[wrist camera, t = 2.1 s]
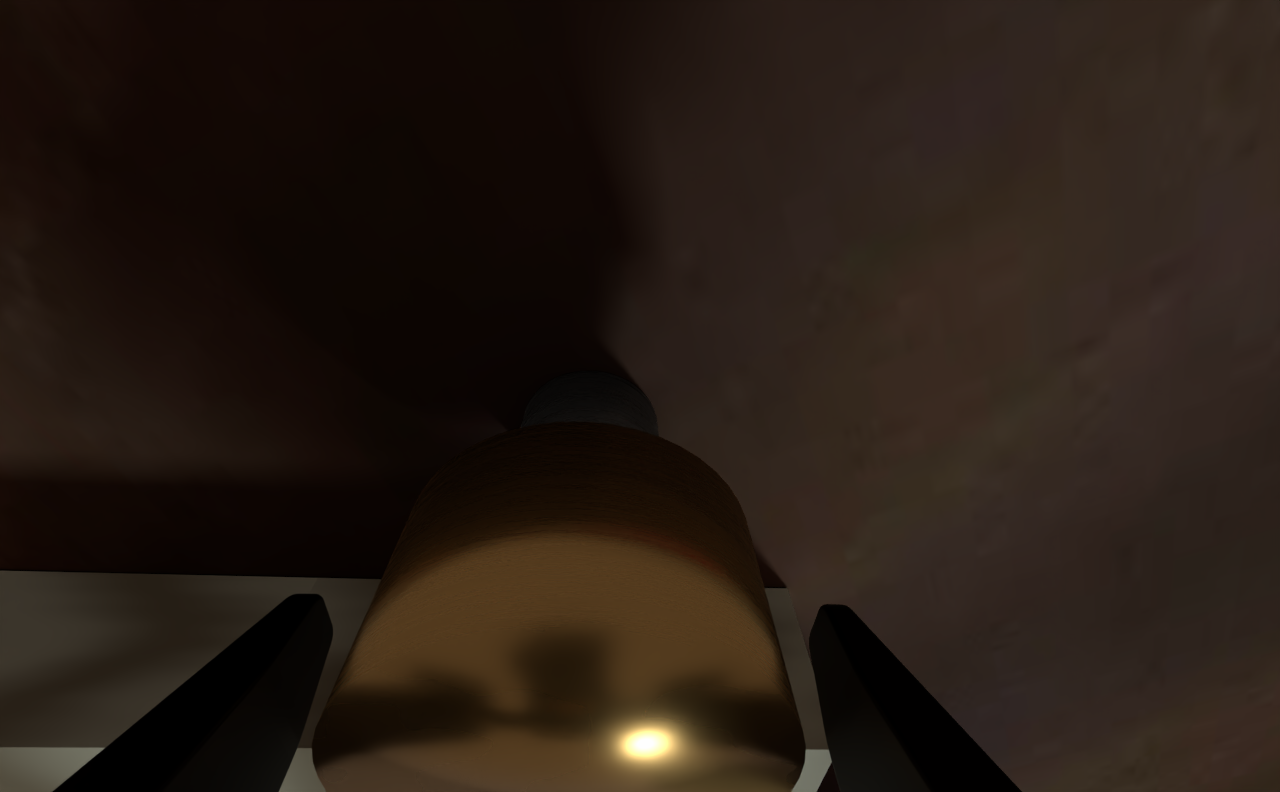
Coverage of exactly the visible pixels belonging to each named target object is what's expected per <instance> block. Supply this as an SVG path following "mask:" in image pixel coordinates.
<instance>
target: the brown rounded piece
mask: <svg viewBox="0 0 1280 792" xmlns="http://www.w3.org/2000/svg"><path fill="white" fill-rule="evenodd" d="M805 754H806V744H805V739H804V733H803V729H802V725H801V721H800V718H799V714H798V710H797V707H796V703H795V699H794V695H793V692H792V688H791V684H790V681H789V677H788V673H787V669H786V666H785V662H784V658H783V655H782V651H781V647H780V643H779V640H778V636H777V632H776V629H775V625H774V621H773V617H772V614H771V610H770V606H769V603H768V599H767V595H766V591H765V588H764V584H763V580H762V577H761V573H760V569H759V566H758V562H757V558H756V554H755V551H754V547H753V543H752V540H751V536H750V532H749V528H748V525H747V521H746V517H745V515H744V513H743V510H742V508H741V505H740V503H739V501H738V499H737V498H736V496H735V495H734V493H733V492H732V490H731V488H730V487H729V486H728V485H727V483H726V482H725V481H724V480H723V479H722V478H721V477H720V476H719V475H718V473H717V472H716V471H714V470H713V469H712V468H711V467H710V466H708V465H707V464H706V463H705V462H704V461H702V460H701V459H700V458H698V457H697V456H695V455H694V454H692V453H690V452H689V451H687V450H686V449H684V448H682V447H680V446H678V445H676V444H674V443H672V442H670V441H668V440H665V439H663V438H661V437H659V434H658V424H657V417H656V414H655V411H654V408H653V406H652V404H651V403H650V401H649V400H648V398H647V397H646V396H645V394H644V393H643V392H642V391H641V390H640V389H638V388H637V387H636V386H635V385H633V384H632V383H630V382H629V381H627V380H625V379H623V378H621V377H618V376H616V375H613V374H609V373H605V372H598V371H579V372H573V373H569V374H565V375H562V376H559V377H557V378H555V379H553V380H551V381H549V382H548V383H546V384H545V385H543V386H542V387H541V388H540V389H539V390H538V391H537V392H536V393H535V394H534V395H533V397H532V398H531V399H530V401H529V403H528V405H527V407H526V410H525V413H524V416H523V420H522V424H521V428H518V429H514V430H510V431H507V432H504V433H501V434H498V435H496V436H493V437H490V438H487V439H485V440H483V441H481V442H479V443H477V444H475V445H473V446H471V447H469V448H467V449H465V450H464V451H462V452H461V453H460V454H458V455H457V456H455V457H454V458H452V459H451V460H450V461H448V462H447V463H446V464H445V465H444V466H443V467H442V468H441V469H440V470H438V471H437V472H436V473H435V474H434V475H433V476H432V478H431V479H430V480H429V481H428V483H427V484H426V485H425V487H424V488H423V489H422V491H421V493H420V495H419V497H418V498H417V500H416V502H415V504H414V506H413V509H412V511H411V513H410V515H409V518H408V520H407V522H406V524H405V527H404V529H403V531H402V533H401V536H400V538H399V540H398V542H397V545H396V547H395V549H394V552H393V554H392V556H391V558H390V561H389V563H388V565H387V567H386V570H385V572H384V574H383V576H382V579H381V581H380V583H379V585H378V588H377V590H376V592H375V594H374V597H373V599H372V601H371V603H370V606H369V608H368V610H367V613H366V615H365V617H364V619H363V622H362V624H361V626H360V628H359V631H358V633H357V635H356V637H355V640H354V642H353V644H352V646H351V649H350V651H349V653H348V655H347V658H346V660H345V662H344V664H343V667H342V669H341V671H340V674H339V676H338V678H337V680H336V683H335V685H334V687H333V689H332V692H331V694H330V696H329V698H328V701H327V703H326V705H325V707H324V710H323V712H322V714H321V716H320V719H319V721H318V723H317V725H316V728H315V732H314V737H313V741H312V759H313V764H314V767H315V770H316V773H317V776H318V779H319V780H320V782H321V783H322V785H323V787H324V788H325V790H326V792H791V791H792V790H793V788H794V786H795V785H796V783H797V781H798V780H799V778H800V775H801V772H802V769H803V766H804V763H805Z"/></svg>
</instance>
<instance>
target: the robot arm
mask: <svg viewBox="0 0 1280 792" xmlns="http://www.w3.org/2000/svg"><path fill="white" fill-rule="evenodd" d="M332 638H333V625H332V622H331V619H330V616H329V613H328V610H327V608H326V605H325V602H324V599H323V597H322V596H320V595H319V594H293V595H291V596H289V597H287V598H286V599H285V600H283V601H282V602H281V603H280V604H279V605H277V606H276V607H275V608H274V609H273V610H271V611H270V612H269V613H268V614H266V615H265V616H264V617H263V618H262V619H260V620H259V621H258V622H257V623H256V624H254V625H253V626H252V627H251V628H250V629H248V630H247V631H246V632H245V633H243V634H242V635H241V636H240V637H239V638H237V639H236V640H235V641H234V642H233V643H231V644H230V645H229V646H228V647H227V648H225V649H224V650H223V651H222V652H220V653H219V654H218V655H217V656H216V657H214V658H213V659H212V660H211V661H210V662H208V663H207V664H206V665H205V666H204V667H202V668H201V669H200V670H199V671H197V672H196V673H195V674H194V675H193V676H191V677H190V678H189V679H188V680H187V681H185V682H184V683H183V684H182V685H181V686H179V687H178V688H177V689H176V690H174V691H173V692H172V693H171V694H170V695H168V696H167V697H166V698H165V699H164V700H162V701H161V702H160V703H159V704H158V705H156V706H155V707H154V708H153V709H151V710H150V711H149V712H148V713H147V714H145V715H144V716H143V717H142V718H141V719H139V720H138V721H137V722H136V723H135V724H133V725H132V726H131V727H130V728H128V729H127V730H126V731H125V732H124V733H122V734H121V735H120V736H119V737H118V738H116V739H115V740H114V741H113V742H112V743H110V744H109V745H108V746H107V747H105V748H104V749H103V750H102V751H101V752H99V753H98V754H97V755H96V756H95V757H93V758H92V759H91V760H90V761H88V762H87V763H86V764H85V765H84V766H82V767H81V768H80V769H79V770H78V771H76V772H75V773H74V774H73V775H72V776H70V777H69V778H68V779H67V780H65V781H64V782H63V783H62V784H61V785H59V786H58V787H57V788H56V789H55V790H53V791H52V792H279V790H280V788H281V786H282V783H283V781H284V779H285V776H286V774H287V772H288V769H289V767H290V765H291V763H292V760H293V758H294V755H295V753H296V750H297V748H298V745H299V743H300V740H301V737H302V734H303V731H304V728H305V725H306V722H307V719H308V715H309V712H310V709H311V706H312V703H313V700H314V696H315V693H316V690H317V687H318V684H319V681H320V677H321V674H322V671H323V668H324V665H325V662H326V658H327V655H328V652H329V649H330V646H331V642H332ZM809 648H810V654H811V659H812V665H813V670H814V676H815V681H816V687H817V692H818V698H819V703H820V709H821V714H822V720H823V725H824V731H825V736H826V741H827V745H828V749H829V753H830V757H831V761H832V764H833V768H834V771H835V775H836V778H837V782H838V785H839V789H840V792H1022V791H1021V790H1020V789H1019V788H1018V787H1017V786H1016V785H1015V784H1014V783H1013V782H1012V781H1011V780H1010V779H1009V777H1008V776H1007V775H1006V774H1005V773H1004V772H1003V771H1002V770H1001V769H1000V768H999V767H998V766H997V765H996V764H995V763H994V761H993V760H992V759H991V758H990V757H989V756H988V755H987V754H986V753H985V752H984V751H983V750H982V749H981V748H980V746H979V745H978V744H977V743H976V742H975V741H974V740H973V739H972V738H971V737H970V736H969V735H968V734H967V733H966V731H965V730H964V729H963V728H962V727H961V726H960V725H959V724H958V723H957V722H956V721H955V720H954V719H953V718H952V716H951V715H950V714H949V713H948V712H947V711H946V710H945V709H944V708H943V707H942V706H941V705H940V704H939V703H938V701H937V700H936V699H935V698H934V697H933V696H932V695H931V694H930V693H929V692H928V691H927V690H926V689H925V688H924V686H923V685H922V684H921V683H920V682H919V681H918V680H917V679H916V678H915V677H914V676H913V675H912V674H911V673H910V672H909V670H908V669H907V668H906V667H905V666H904V665H903V664H902V663H901V662H900V661H899V660H898V659H897V658H896V657H895V655H894V654H893V653H892V652H891V651H890V650H889V649H888V648H887V647H886V646H885V645H884V644H883V643H882V642H881V640H880V639H879V638H878V637H877V636H876V635H875V634H874V633H873V632H872V631H871V630H870V629H869V628H868V627H867V625H866V624H865V623H864V622H863V621H862V620H861V619H860V618H859V617H858V616H857V615H856V614H855V613H854V612H853V610H851V609H850V608H849V607H848V606H846V605H836V604H825V605H823V606H821V607H820V609H819V611H818V614H817V617H816V619H815V622H814V625H813V627H812V630H811V633H810V637H809Z"/></svg>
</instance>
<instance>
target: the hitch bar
mask: <svg viewBox="0 0 1280 792" xmlns="http://www.w3.org/2000/svg"><path fill="white" fill-rule="evenodd" d="M380 581H381V579H348V578H304V577H260V576H216V575H172V574H127V573H83V572H39V571H0V792H52V791H53V790H55V789H56V788H57V787H58V786H59V785H61V784H62V783H63V782H64V781H65V780H67V779H68V778H69V777H70V776H72V775H73V774H74V773H75V772H76V771H78V770H79V769H80V768H81V767H82V766H84V765H85V764H86V763H87V762H88V761H90V760H91V759H92V758H93V757H95V756H96V755H97V754H98V753H99V752H101V751H102V750H103V749H104V748H105V747H107V746H108V745H109V744H110V743H112V742H113V741H114V740H115V739H116V738H118V737H119V736H120V735H121V734H122V733H124V732H125V731H126V730H127V729H128V728H130V727H131V726H132V725H133V724H135V723H136V722H137V721H138V720H139V719H141V718H142V717H143V716H144V715H145V714H147V713H148V712H149V711H150V710H151V709H153V708H154V707H155V706H156V705H158V704H159V703H160V702H161V701H162V700H164V699H165V698H166V697H167V696H168V695H170V694H171V693H172V692H173V691H174V690H176V689H177V688H178V687H179V686H181V685H182V684H183V683H184V682H185V681H187V680H188V679H189V678H190V677H191V676H193V675H194V674H195V673H196V672H197V671H199V670H200V669H201V668H202V667H204V666H205V665H206V664H207V663H208V662H210V661H211V660H212V659H213V658H214V657H216V656H217V655H218V654H219V653H220V652H222V651H223V650H224V649H225V648H227V647H228V646H229V645H230V644H231V643H233V642H234V641H235V640H236V639H237V638H239V637H240V636H241V635H242V634H243V633H245V632H246V631H247V630H248V629H250V628H251V627H252V626H253V625H254V624H256V623H257V622H258V621H259V620H260V619H262V618H263V617H264V616H265V615H266V614H268V613H269V612H270V611H271V610H273V609H274V608H275V607H276V606H277V605H279V604H280V603H281V602H282V601H283V600H285V599H286V598H287V597H289V596H291V595H293V594H319V595H320V596H322V597H323V599H324V602H325V605H326V608H327V610H328V613H329V616H330V619H331V622H332V625H333V638H332V642H331V646H330V649H329V652H328V655H327V658H326V662H325V665H324V668H323V671H322V674H321V677H320V681H319V684H318V687H317V690H316V693H315V696H314V700H313V703H312V706H311V709H310V712H309V715H308V719H307V722H306V725H305V728H304V731H303V734H302V737H301V740H300V743H299V745H298V748H297V750H296V753H295V755H294V758H293V760H292V763H291V765H290V767H289V769H288V772H287V774H286V776H285V779H284V781H283V783H282V786H281V788H280V790H279V792H326V790H325V788H324V787H323V785H322V783H321V782H320V780H319V779H318V776H317V773H316V770H315V767H314V764H313V759H312V741H313V737H314V732H315V728H316V725H317V723H318V721H319V719H320V716H321V714H322V712H323V710H324V707H325V705H326V703H327V701H328V698H329V696H330V694H331V692H332V689H333V687H334V685H335V683H336V680H337V678H338V676H339V674H340V671H341V669H342V667H343V664H344V662H345V660H346V658H347V655H348V653H349V651H350V649H351V646H352V644H353V642H354V640H355V637H356V635H357V633H358V631H359V628H360V626H361V624H362V622H363V619H364V617H365V615H366V613H367V610H368V608H369V606H370V603H371V601H372V599H373V597H374V594H375V592H376V590H377V588H378V585H379V583H380ZM765 591H766V595H767V599H768V603H769V606H770V610H771V614H772V617H773V621H774V625H775V629H776V632H777V636H778V640H779V643H780V647H781V651H782V655H783V658H784V662H785V666H786V669H787V673H788V677H789V681H790V684H791V688H792V692H793V695H794V699H795V703H796V707H797V710H798V714H799V718H800V721H801V725H802V729H803V733H804V739H805V744H806V754H805V763H804V766H803V769H802V772H801V775H800V778H799V780H798V781H797V783H796V785H795V786H794V788H793V790H792V791H791V792H817V790H818V788H819V786H820V784H821V782H822V780H823V778H824V776H825V774H826V772H827V770H828V768H829V766H830V764H831V762H832V761H831V757H830V753H829V749H828V745H827V741H826V736H825V731H824V725H823V720H822V714H821V709H820V703H819V698H818V692H817V687H816V681H815V676H814V671H813V668H812V665H811V662H810V659H809V655H808V652H807V649H806V646H805V643H804V639H803V636H802V633H801V630H800V627H799V623H798V620H797V617H796V614H795V610H794V607H793V604H792V601H791V598H790V594H789V591H788V588H765Z"/></svg>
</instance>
